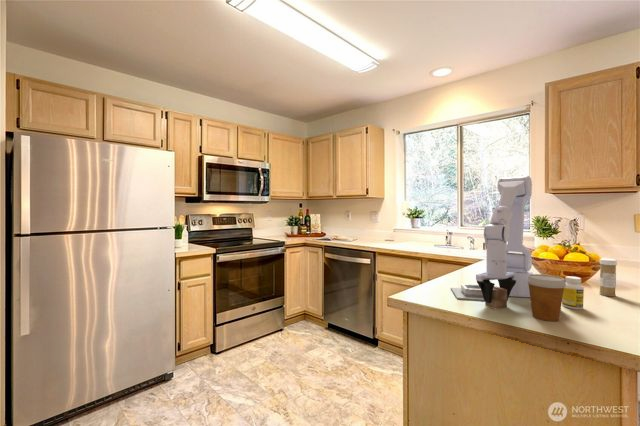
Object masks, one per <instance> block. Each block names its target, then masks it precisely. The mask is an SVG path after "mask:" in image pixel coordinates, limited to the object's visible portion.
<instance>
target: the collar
mask: <svg viewBox="0 0 640 426" xmlns="http://www.w3.org/2000/svg"><path fill="white" fill-rule="evenodd" d="M460 288H461V291H462V292H463V294H464V295H465V296H476V297H483V294H482V291H481V289H480V287H479V285H478V284H472V283H471V284H469V283H468V284H467V283H461V284H460Z"/></svg>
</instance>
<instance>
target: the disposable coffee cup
mask: <svg viewBox="0 0 640 426" xmlns="http://www.w3.org/2000/svg"><path fill="white" fill-rule="evenodd" d="M527 282H528V285H529V292H530V297H529V299H530V305H531V311H532V312H531V314H532V317H534V318H535V319H537V320H542V321H546V322H558V321H559V320H560V315H561V314H560V313H561V310H562V297H563V292H564V287H565V286H566V281H565V278H563V277H561V276H558V275H557V276H556V275H551V274H550V275H549V274H543V273H542V274H540V273H539V274H537V273H535V274H534V273H533V274H531V275H528V279H527ZM560 309H561V310H560Z"/></svg>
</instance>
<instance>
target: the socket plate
mask: <svg viewBox="0 0 640 426" xmlns="http://www.w3.org/2000/svg"><path fill="white" fill-rule="evenodd" d="M450 290H451V292H452V293H453V296H454V297H455V298H456V300H461V301H462V300H463V301H474V300H475V301H477V302H485V301H484V298H483V297H476V296H465V295H464V294H463V292H462V291H461V287H450Z"/></svg>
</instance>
